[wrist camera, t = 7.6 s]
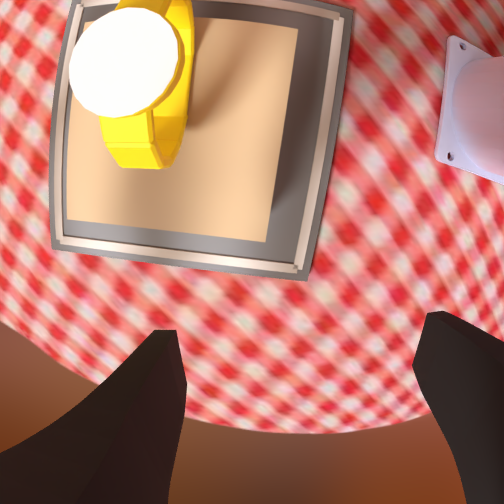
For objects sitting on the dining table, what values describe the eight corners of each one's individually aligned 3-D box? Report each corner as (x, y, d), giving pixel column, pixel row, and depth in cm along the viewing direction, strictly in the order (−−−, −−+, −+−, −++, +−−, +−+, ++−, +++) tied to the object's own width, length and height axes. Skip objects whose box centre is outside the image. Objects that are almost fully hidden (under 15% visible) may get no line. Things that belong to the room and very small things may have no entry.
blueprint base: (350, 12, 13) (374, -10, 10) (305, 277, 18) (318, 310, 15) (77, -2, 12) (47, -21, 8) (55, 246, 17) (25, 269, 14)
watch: (202, 156, 13) (170, 198, 7) (136, 153, 12) (66, 192, 7) (217, 13, 10) (196, -50, 5) (149, 14, 10) (85, -36, 4)
